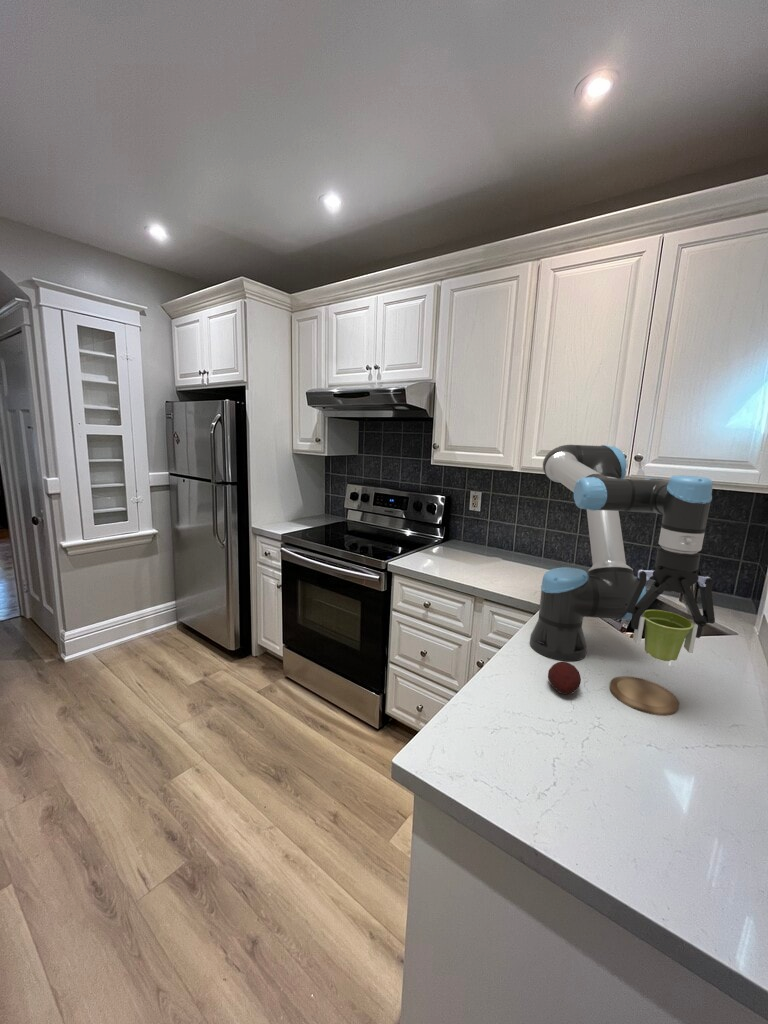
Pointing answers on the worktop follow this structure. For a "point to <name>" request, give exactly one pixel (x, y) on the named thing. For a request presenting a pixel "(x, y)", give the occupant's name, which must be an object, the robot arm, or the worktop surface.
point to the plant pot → (665, 633)
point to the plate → (644, 695)
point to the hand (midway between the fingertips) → (662, 646)
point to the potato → (564, 677)
